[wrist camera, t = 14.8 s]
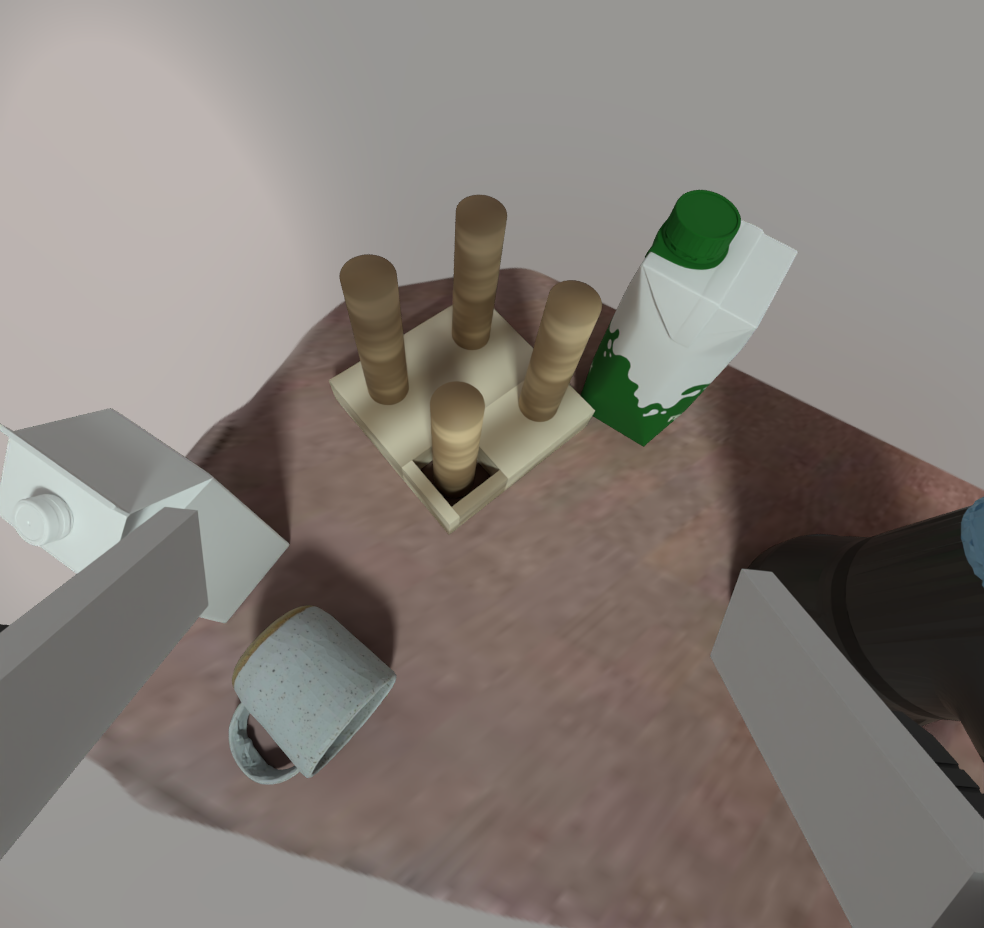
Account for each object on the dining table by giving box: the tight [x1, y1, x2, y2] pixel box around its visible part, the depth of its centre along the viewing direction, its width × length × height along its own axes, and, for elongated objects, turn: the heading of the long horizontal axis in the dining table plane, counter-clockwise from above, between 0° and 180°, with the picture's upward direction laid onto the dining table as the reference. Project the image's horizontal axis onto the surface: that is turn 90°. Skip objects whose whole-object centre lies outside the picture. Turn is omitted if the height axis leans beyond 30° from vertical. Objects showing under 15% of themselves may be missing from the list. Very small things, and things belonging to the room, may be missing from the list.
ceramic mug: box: [229, 605, 396, 784], centre depth 33 cm, size 11×8×8 cm
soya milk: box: [581, 190, 798, 447], centre depth 39 cm, size 9×9×20 cm
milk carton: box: [0, 408, 289, 623], centre depth 31 cm, size 7×7×19 cm
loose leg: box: [430, 381, 485, 498], centre depth 38 cm, size 3×3×13 cm
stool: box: [329, 195, 602, 534], centre depth 39 cm, size 16×16×16 cm
